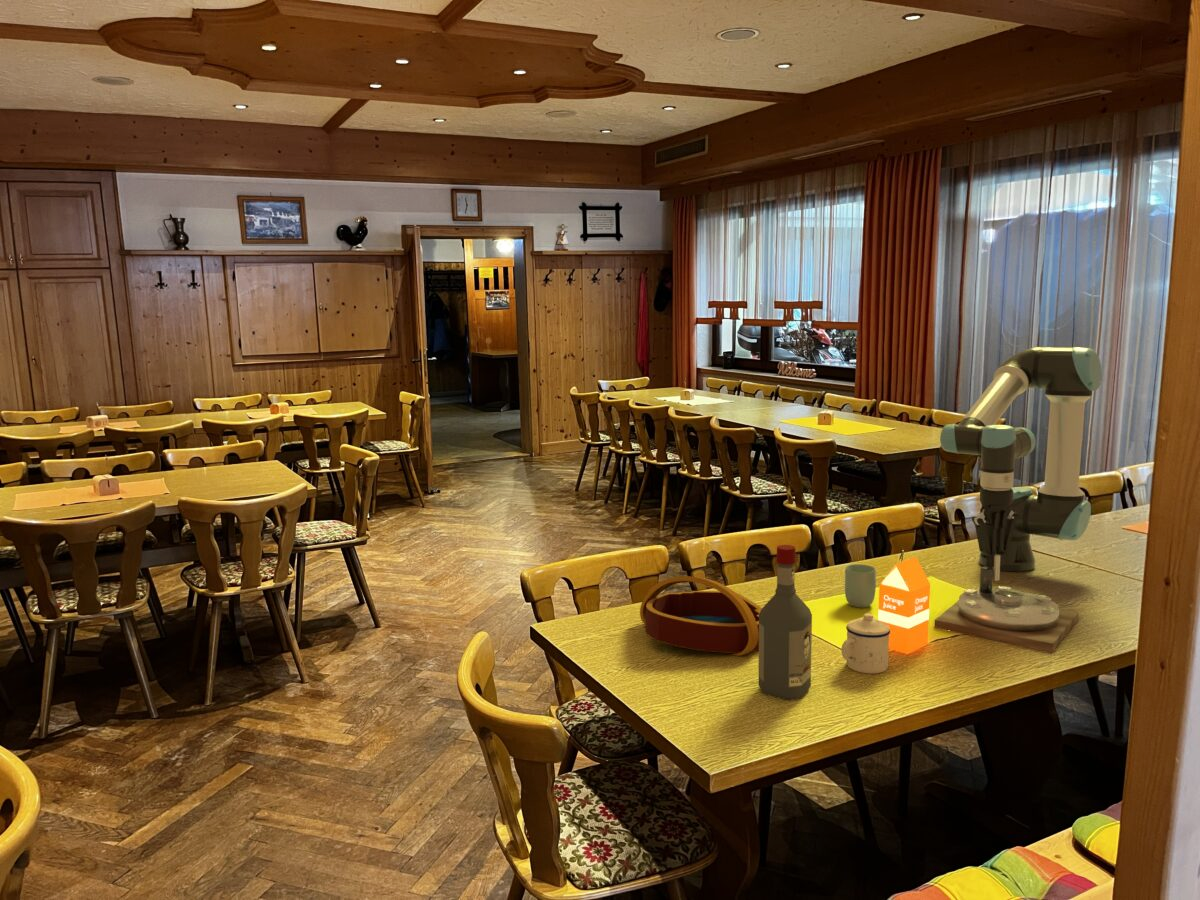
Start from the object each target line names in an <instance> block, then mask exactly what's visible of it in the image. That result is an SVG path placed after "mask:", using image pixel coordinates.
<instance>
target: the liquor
mask: <svg viewBox="0 0 1200 900" xmlns="http://www.w3.org/2000/svg"><path fill="white" fill-rule="evenodd" d="M776 563H777V567H776V569H777V570H776V571H777V572H776V588H775V593H774V594H773V596H771V598H770V599H769V600H768V601H767V602H766V603H765V604H764V605H763V607H761V608H762V609H761V611H760V614H759V650H758V688H760V691H762V692H763V694H764V695H766V696H769V697H773V698H777V699H782V700H787V701H792V700H799V699H801V698H803V696H804V695H806V694H807V692H808V691H809V689H810V687H811V685H812V639H813V635H812V630H813V629H812V627H813V614H812V611H811V609H810V608H809V607H808V606H807V604H806V603H805V602H804V601H803V599H802V598H800V596H798V594H797V593H796V592H797V590H796V588H795V584H796V583H795V564H796V546H795V545H791V544H780V545H777V546H776Z"/></svg>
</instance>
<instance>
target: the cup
mask: <svg viewBox="0 0 1200 900" xmlns="http://www.w3.org/2000/svg"><path fill="white" fill-rule="evenodd" d="M876 589H877V569H876V567H874V566H871V565H868V564H867V565H866V564H858V563H855V564H854V563H853V564H848V565H846V566H845V568H844V596H845V600H846V602H847V603H848V604H849V606H851V607H855V608H860V609H861V608H862V609H863V608H864V609H865V608H868V607H870V606H871V605H872V604H873V602H874V601H875V595H876Z"/></svg>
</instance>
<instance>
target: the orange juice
mask: <svg viewBox="0 0 1200 900" xmlns="http://www.w3.org/2000/svg"><path fill="white" fill-rule="evenodd" d="M878 586H879V587H878V588H879V590H878V591H879V593H878V611H877V613H878V615H877V617H878V618H877V620H878V621H881V622H884V623H885V624H887V625H888V626H889V628H890V634H889V649H890V650H893V651H896V652H899V653H903V654H906V655H909V654H911V653H913V652H916V651H917V650H919V649H922V648H923V647H925V646H927V645H929V644H928V643H929V622H930V621H929V619H930V598H931V597H930V595H931V594H930V592H931V583H930V581H929V579H928V577H927V575H926V573H925V571H924V569H923V568H922V566H921V564H920V563H919V561H918V559H917V557H916V556H914V557H911V558H908V559H905V560H903V561H901V562H898V563H897V562H896V563H895V564H894V566H893V567H892V568H891V570H890V571H889V572H888V574H887V575H886V576H885V577H884V579H883V580H882V581H881V582H880V584H878Z"/></svg>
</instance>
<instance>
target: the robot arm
mask: <svg viewBox="0 0 1200 900" xmlns="http://www.w3.org/2000/svg"><path fill="white" fill-rule="evenodd" d="M1102 373H1103V372H1102V364H1101V360H1100V358H1099V355H1098V353H1097V352H1096V351H1095V350H1094V349H1092V348H1090V347H1081V346H1080V347H1078V346H1074V347H1073V346H1071V347H1069V346H1068V347H1067V346H1064V347H1063V346H1061V347H1059V346H1056V347H1055V346H1053V347H1052V346H1048V347H1046V346H1036V347H1030V348H1026V349H1024V350H1022V351H1019V352H1017V353H1015V354H1013V355H1012V356H1011V357H1009V358H1007V359H1006V360H1005V361H1004V362H1003V363H1002V364H1000V365H999V367H998V368H997V369H996V370H995V372H994V373H993V379H992V381H991V382H990V384H989V385H988V386H987V387H986V389H985V390H984V391H983V393H982V394H981V395H980V396H979V398H978V399H977V400H976V402H975V403H974V404H973V405H972V407H971V408H970V409H969V410H968V411H967V413H966V414H965V415H964V416H963V418H962V419H960V422H959V423H952V424H950V423H949V424H945V425H944V426H943V427H942V428H941V432H940V435H939V437H940V438H939V439H940V440H939V442H940V446H941V448H942V450H943V451H945V452H948V453H954V454H961V455H962V454H965V455H974V456H975V455H976V456H980V457H981V458H980V459H981V461H980V463H981V464H980V477H979V478H980V479H979V480H980V482H979V484H980V486H981V487H980V488H979V502H980V504H981V507H980V510H979V513H978V515H977V516H972V518H971V521H972V523H973V525H974V527H975V531H976V532H975V534H976V538H977V543H978V548H979V552H980V553H979V555H978V556H979V557H978V558H979V559H978V563H979V564H980V565H982V567H990V568H993V582H994V581H995V582H998V581H1000V578H1001V577H1000V576H1001V575H1000V574H1001V571H1005V572H1027V571H1032V570H1034V569H1035V568H1036V558H1035V555H1034V552H1033V548H1032V546H1031V545H1032V544H1031V541H1030V540H1031V535H1032V536H1039V537H1047V538H1052V539H1058V540H1059V541H1062V540H1063V541H1064V540H1066V541H1077V540H1079V539H1081V537H1082V536H1084V534H1085V532H1086V530H1087V528H1088V525H1089V522H1090V519H1091V515H1092V506H1091V503H1090V501H1087V500H1085V493H1084V492H1083V490H1082V489H1081V488H1080V473H1081V460H1082V459H1081V458H1082V457H1081V456H1082V449H1083V448H1082V447H1083V446H1082V445H1083V435H1084V434H1083V433H1084V420H1085V407H1086V406H1085V405H1086V402H1087V401H1088V400H1090V399H1091V398H1092V397H1093V396H1092V395H1093V392H1094V391H1098V389H1099V388H1100V387H1101V382H1102V376H1103V375H1102ZM1032 388H1035V389H1036V388H1037V389H1044V396H1045V397H1046V398H1047V399H1048V400H1049V402H1050V404H1049V418H1048V430H1047V444H1046V458H1045V460H1046V461H1045V470H1044V471H1045V473H1044V484H1043V485H1042V486H1041V487H1040V488H1038V490H1037V494H1034V491H1033V489H1032V488H1030V487H1024V486H1023V487H1022V486H1016V487H1014V474H1015V473H1014V472H1015V460H1017V459H1020V458H1024V457H1027V456H1028V455H1029V454H1031V453H1032V452H1033V451H1034V449H1035V448H1036V441H1037V440H1036V437H1035V435H1034V433H1033V431H1031V430H1030V429H1028V428H1026V427H1020V426H1019V427H1016V426H1015V427H1013V426H1011V425H1008V424H1007V425H1006V424H997V422H998V421H1000V418H1001V417H1002V416H1003V414H1004V413H1005V412H1006V411H1007V409H1008V408H1009V407H1010V406H1011V404H1012V403H1013V401H1015V399H1016V398H1017V397H1018V395H1021V394H1023V393H1024V392H1026V390H1028V389H1032Z"/></svg>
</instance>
